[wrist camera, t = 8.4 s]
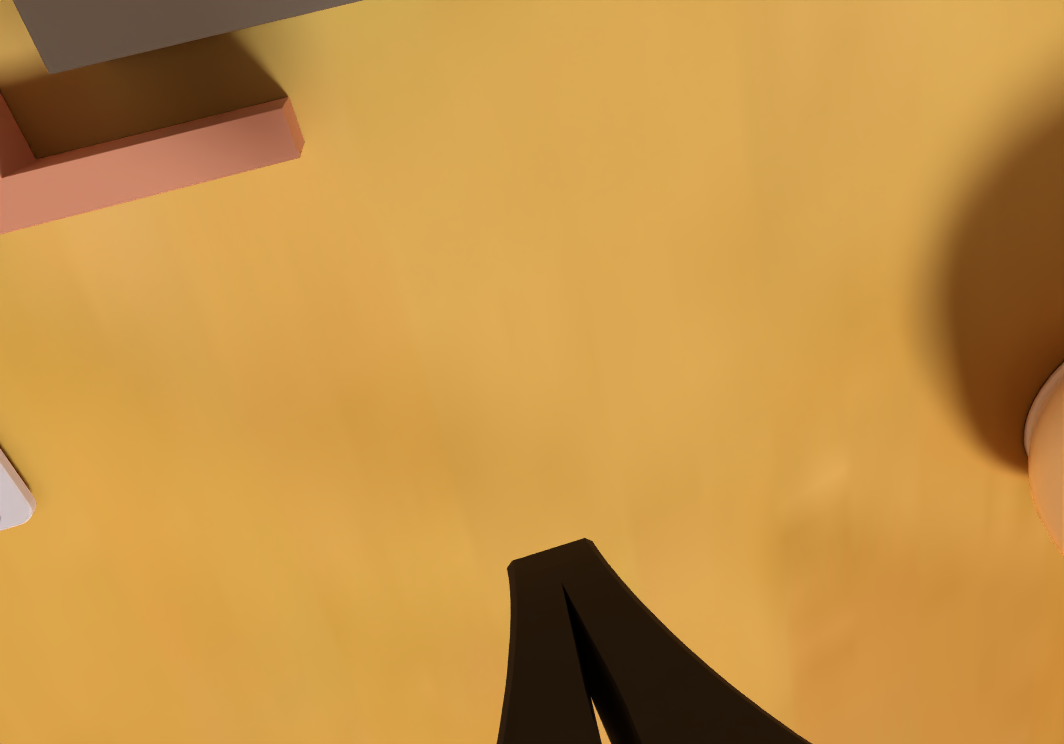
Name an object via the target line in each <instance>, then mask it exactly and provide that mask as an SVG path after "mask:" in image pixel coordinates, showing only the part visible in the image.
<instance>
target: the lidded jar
mask: <svg viewBox="0 0 1064 744" xmlns="http://www.w3.org/2000/svg"><path fill="white" fill-rule="evenodd" d="M1024 447H1025V451H1026V454H1027V456H1028V474H1029V485H1030V490H1031V494H1032V498H1033V501H1034V505H1035V508H1036V511H1037V514H1038V516H1039V518H1040V520H1041V522H1042V524H1043V525H1044V527H1045V529H1046V531H1047V533H1048V534H1049V536H1050V538H1051V540H1052V542H1053V544H1054V545H1055V546H1056V548H1057V549H1058V550H1059V551H1060V553H1061V554H1062V555H1063V556H1064V362H1063V363H1062V364H1061V365H1060V366H1059V367H1058V368H1057V369H1056V370H1055V371H1054V372H1053V373H1052V375H1051V376H1050V377H1049V378H1048V380H1047V381H1046V382H1045V384H1044V385H1043V386H1042V388H1041V389H1040V391H1039V393H1038V394H1037V396H1036V398H1035V399H1034V402H1033V404H1032V406H1031V408H1030V410H1029V413H1028V416H1027V419H1026V422H1025V428H1024Z"/></svg>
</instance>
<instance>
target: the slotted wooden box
mask: <svg viewBox="0 0 1064 744" xmlns="http://www.w3.org/2000/svg"><path fill="white" fill-rule="evenodd" d="M358 1H362V0H13V2H14V4H15V6H16V8H17V10H18V12H19V14H20V16H21V18H22V20H23V22H24V24H25V26H26V28H27V30H28V32H29V34H30V36H31V38H32V40H33V42H34V44H35V46H36V48H37V50H38V52H39V54H40V56H41V58H42V60H43V62H44V64H45V66H46V68H47V70H48V72H49V74H55V73H59V72H63V71H67V70H71V69H76V68H80V67H84V66H88V65H93V64H97V63H101V62H105V61H109V60H114V59H118V58H122V57H126V56H130V55H135V54H139V53H143V52H147V51H151V50H156V49H160V48H164V47H168V46H173V45H177V44H181V43H185V42H189V41H194V40H198V39H202V38H206V37H210V36H215V35H219V34H223V33H227V32H231V31H236V30H240V29H244V28H248V27H252V26H257V25H261V24H265V23H269V22H274V21H278V20H282V19H286V18H290V17H295V16H299V15H303V14H307V13H311V12H316V11H320V10H324V9H328V8H332V7H337V6H341V5H345V4H349V3H354V2H358Z"/></svg>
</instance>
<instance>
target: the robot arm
mask: <svg viewBox="0 0 1064 744" xmlns="http://www.w3.org/2000/svg"><path fill="white" fill-rule="evenodd" d="M35 509H36V501H35V498H34V497H33V495H32V494H31V492H30V491H29V489H28V488H27V486H26V485H25V484H24V482H23V481H22V479H21V478H20V476H19V475H18V473H17V472H16V471H15V469H14V468H13V466H12V465H11V463H10V462H9V460H8V459H7V458H6V456H5V455H4V453H3V452H2V450H1V449H0V531H1V530H4V529H8V528H11V527H15V526H18V525H21V524H23V523H25V522H27V521H28V520H29V519H30V517H31V516H32V514H33V513H34V511H35ZM507 571H508V577H509V584H510V599H511V621H510V643H509V656H508V668H507V679H506V687H505V694H504V701H503V708H502V715H501V721H500V728H499V734H498V740H497V744H602V743H601V739H600V734H599V730H598V726H597V721H596V717H595V713H594V709H593V704H592V700H593V703H594V705H595V707H596V710H597V712H598V714H599V717H600V719H601V721H602V724H603V726H604V728H605V730H606V733H607V735H608V737H609V740H610V742H611V744H812V743H810V742H808V741H807V740H805V739H804V738H802V737H801V736H799V735H798V734H796V733H795V732H794V731H792V730H791V729H789V728H788V727H787V726H785V725H784V724H782V723H781V722H780V721H778V720H777V719H775V718H774V717H773V716H771V715H770V714H769V713H767V712H766V711H764V710H763V709H762V708H760V707H759V706H758V705H757V704H755V703H754V702H753V701H751V700H750V699H749V698H747V697H746V696H745V695H744V694H742V693H741V692H740V691H738V690H737V689H736V688H735V687H733V686H732V685H731V684H730V683H728V682H727V681H726V680H725V679H724V678H722V677H721V676H720V675H719V674H718V673H716V672H715V671H714V670H713V669H712V668H711V667H709V666H708V665H707V664H706V663H705V662H704V661H703V660H701V659H700V658H699V657H698V656H697V655H696V654H695V653H694V652H692V651H691V650H690V649H689V648H688V647H687V646H686V645H685V644H684V643H683V642H681V641H680V640H679V639H678V638H677V637H676V636H675V635H674V634H673V633H672V632H671V631H670V630H669V629H668V628H667V627H666V626H665V625H664V624H663V623H662V622H661V621H660V620H659V619H658V618H657V617H656V616H655V615H654V614H653V613H652V612H651V611H650V610H649V609H648V608H647V607H646V606H645V605H644V604H643V603H642V602H641V601H640V600H639V599H638V598H637V596H636V595H635V594H634V593H633V592H632V591H631V590H630V589H629V588H628V586H627V585H626V584H625V583H624V582H623V581H622V580H621V578H620V577H619V576H618V575H617V574H616V572H615V571H614V570H613V569H612V568H611V566H610V565H609V564H608V563H607V561H606V560H605V559H604V557H603V556H602V555H601V553H600V552H599V550H598V549H597V548H596V546H595V544H594V543H593V541H590V540H588V539H586V538H583V539H580V540H577V541H574V542H571V543H567V544H564V545H561V546H558V547H555V548H551V549H548V550H545V551H542V552H539V553H536V554H532V555H529V556H526V557H523V558H520V559H516V560H513V561H512V562H511V563H510V565H509V566H508V568H507ZM591 698H592V700H591Z"/></svg>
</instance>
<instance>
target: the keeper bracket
mask: <svg viewBox="0 0 1064 744" xmlns="http://www.w3.org/2000/svg"><path fill="white" fill-rule="evenodd" d="M303 146H304V139H303V136H302V133H301V130H300V128H299V125H298V122H297V119H296V116H295V113H294V110H293V108H292V105H291V102H290V99H289V97H286V98H282V99H278V100H274V101H270V102H266V103H262V104H258V105H254V106H250V107H246V108H242V109H238V110H234V111H230V112H225V113H221V114H217V115H213V116H209V117H205V118H201V119H197V120H193V121H189V122H185V123H181V124H177V125H173V126H169V127H165V128H161V129H157V130H153V131H149V132H145V133H141V134H137V135H133V136H129V137H125V138H121V139H117V140H113V141H109V142H105V143H101V144H97V145H93V146H89V147H84V148H80V149H76V150H72V151H68V152H64V153H60V154H56V155H52V156H48V157H44V158H40V159H36V158H35V156H34V154H33V153H32V151H31V149H30V147H29V145H28V143H27V141H26V140H25V138H24V136H23V134H22V132H21V130H20V128H19V126H18V125H17V123H16V121H15V119H14V117H13V115H12V113H11V111H10V110H9V108H8V106H7V104H6V102H5V100H4V98H3V97H2V95H1V93H0V234H4V233H8V232H11V231H15V230H19V229H23V228H27V227H31V226H35V225H39V224H43V223H47V222H51V221H54V220H58V219H62V218H66V217H70V216H74V215H78V214H82V213H86V212H90V211H93V210H97V209H101V208H105V207H109V206H113V205H117V204H121V203H125V202H129V201H133V200H136V199H140V198H144V197H148V196H152V195H156V194H160V193H164V192H168V191H172V190H175V189H179V188H183V187H187V186H191V185H195V184H199V183H203V182H207V181H211V180H215V179H218V178H222V177H226V176H230V175H234V174H238V173H242V172H246V171H250V170H254V169H257V168H261V167H265V166H269V165H273V164H277V163H281V162H285V161H289V160H293V159H297V158H300V155H301V152H302V149H303Z"/></svg>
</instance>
